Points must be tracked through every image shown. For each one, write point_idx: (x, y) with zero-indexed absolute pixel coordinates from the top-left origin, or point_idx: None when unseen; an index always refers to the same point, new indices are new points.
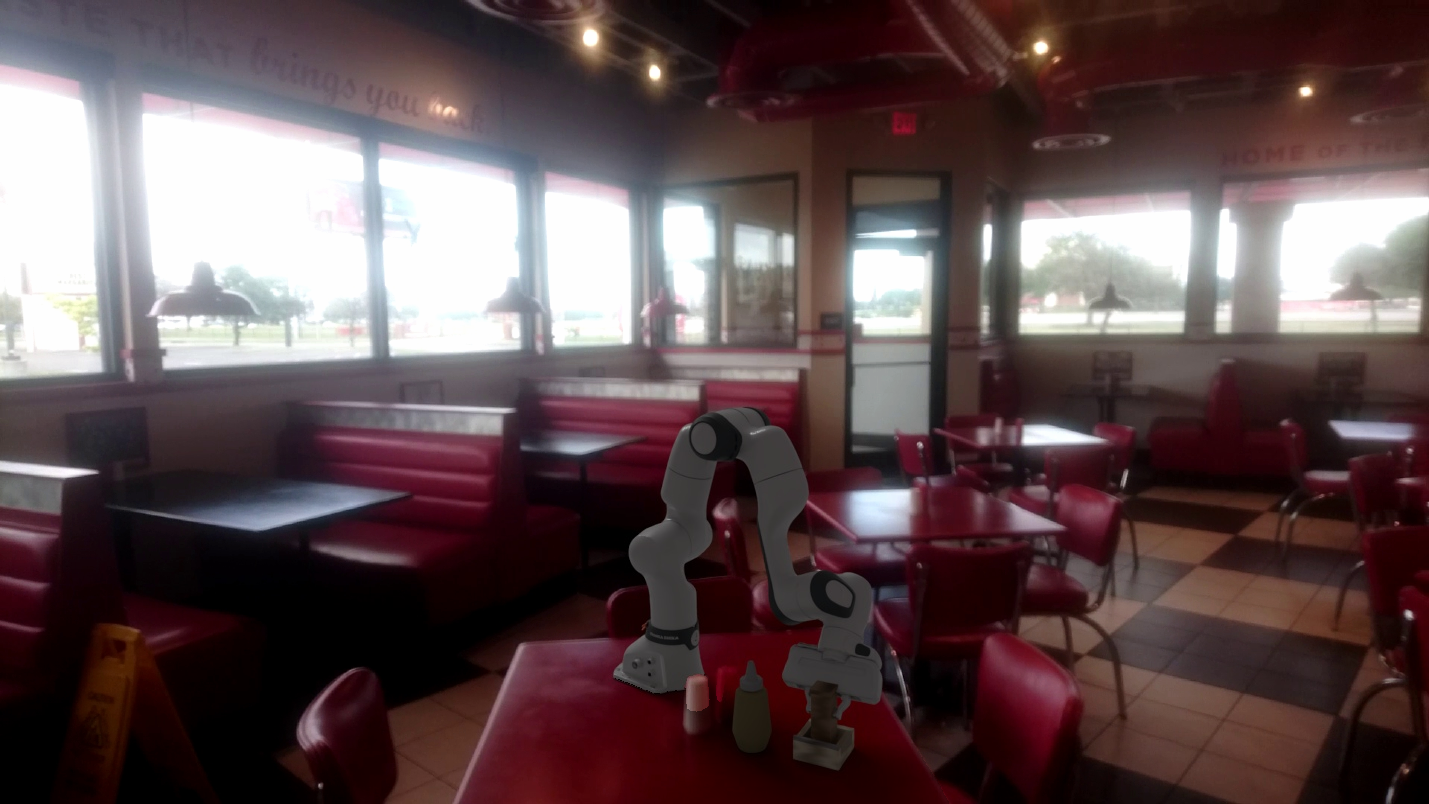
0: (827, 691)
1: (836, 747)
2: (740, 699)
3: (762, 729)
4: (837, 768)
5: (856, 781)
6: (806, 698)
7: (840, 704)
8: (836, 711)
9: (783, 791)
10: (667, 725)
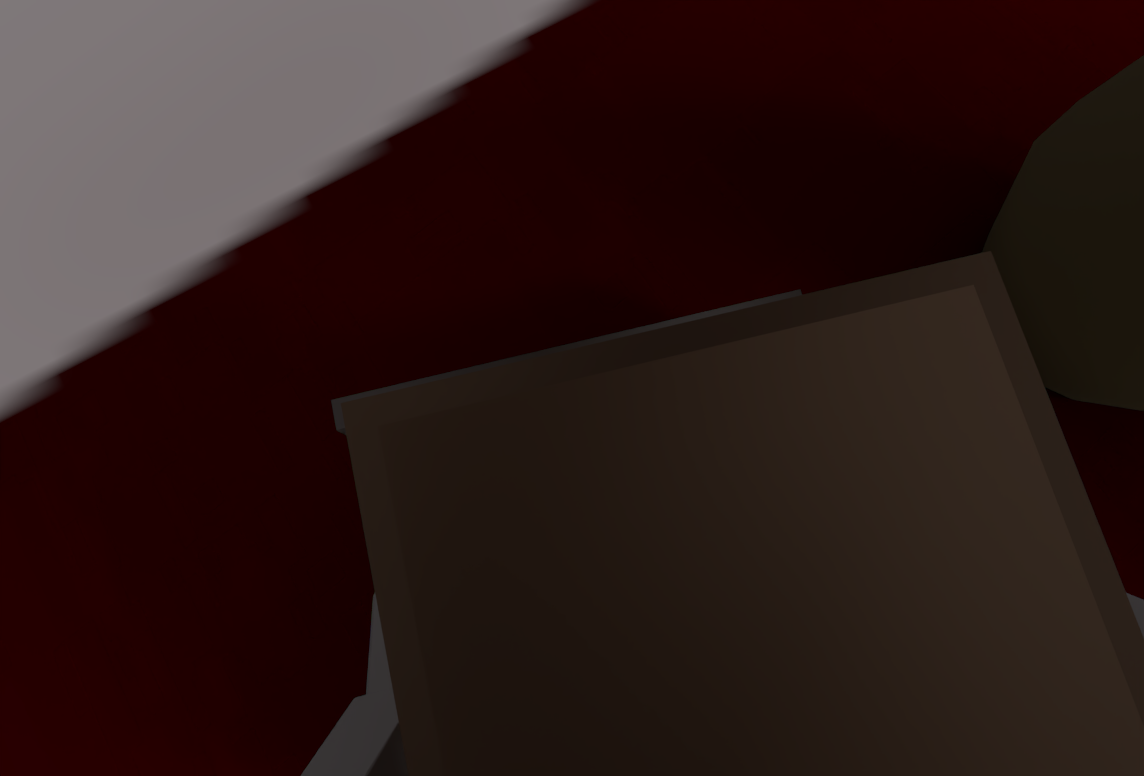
0: (497, 471)
1: (356, 398)
2: None
3: (1074, 150)
4: None
5: (217, 405)
6: None
7: (374, 754)
8: None
9: (551, 24)
10: None
